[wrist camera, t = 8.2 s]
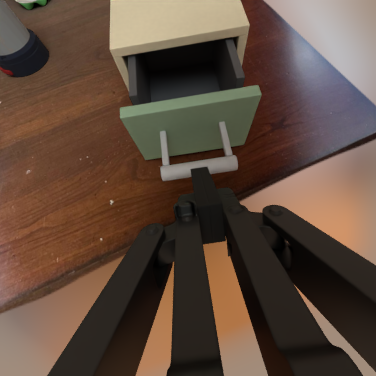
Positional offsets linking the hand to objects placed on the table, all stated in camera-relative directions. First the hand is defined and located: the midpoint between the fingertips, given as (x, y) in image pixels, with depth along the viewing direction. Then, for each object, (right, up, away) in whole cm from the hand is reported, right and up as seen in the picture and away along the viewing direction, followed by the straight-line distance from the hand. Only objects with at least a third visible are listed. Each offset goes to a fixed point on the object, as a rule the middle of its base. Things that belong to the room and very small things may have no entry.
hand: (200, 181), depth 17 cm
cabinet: (-2, +18, +13) cm, 23 cm away
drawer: (-1, +8, +9) cm, 12 cm away
